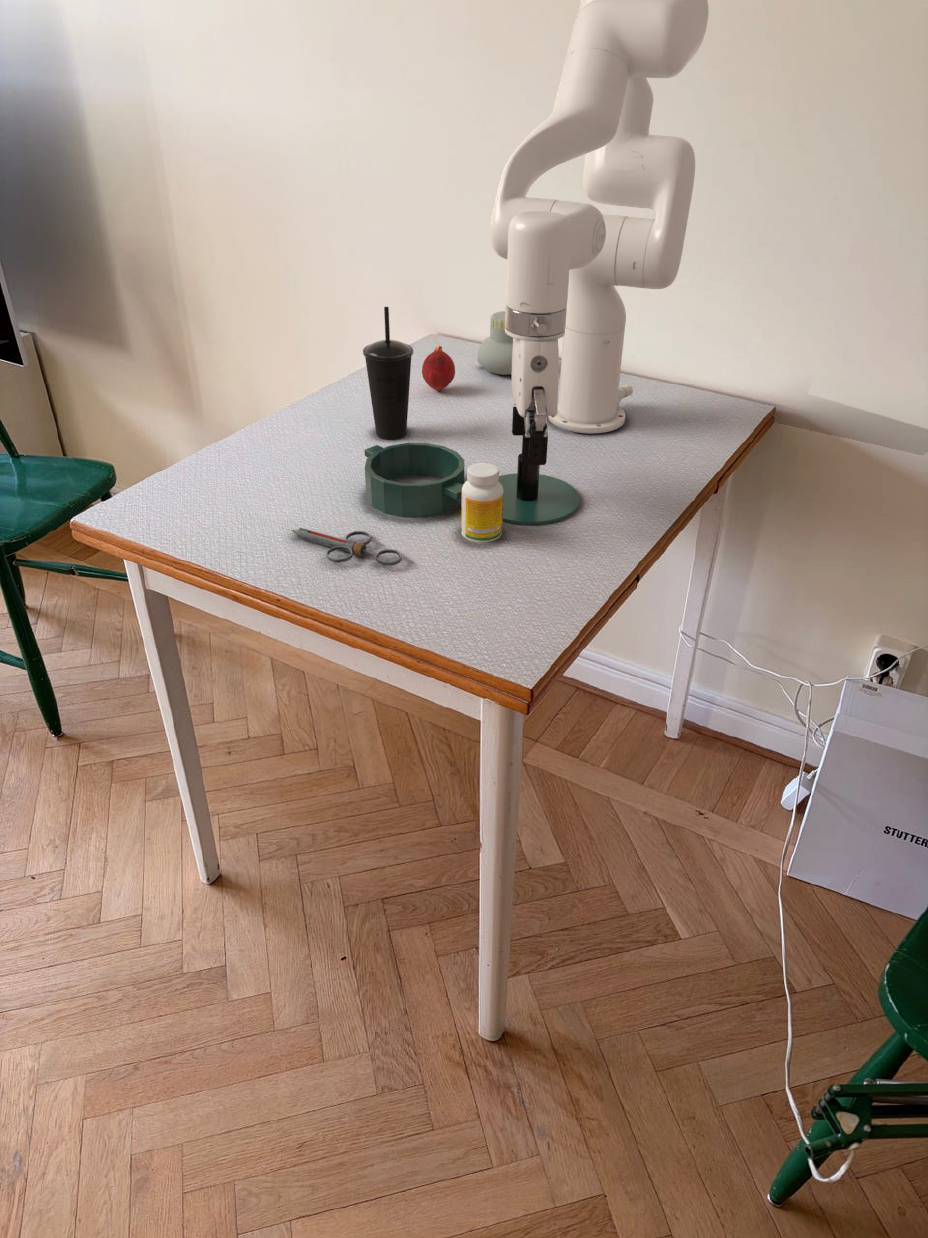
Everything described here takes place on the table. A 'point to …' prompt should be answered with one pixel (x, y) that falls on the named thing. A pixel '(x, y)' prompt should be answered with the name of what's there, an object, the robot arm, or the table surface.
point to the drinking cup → (389, 383)
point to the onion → (438, 369)
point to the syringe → (344, 545)
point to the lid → (536, 497)
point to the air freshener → (497, 347)
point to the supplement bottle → (482, 503)
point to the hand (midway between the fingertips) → (528, 448)
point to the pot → (413, 496)
